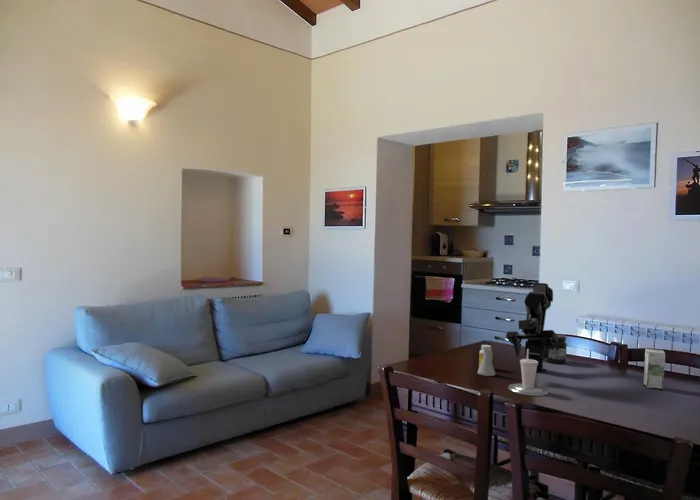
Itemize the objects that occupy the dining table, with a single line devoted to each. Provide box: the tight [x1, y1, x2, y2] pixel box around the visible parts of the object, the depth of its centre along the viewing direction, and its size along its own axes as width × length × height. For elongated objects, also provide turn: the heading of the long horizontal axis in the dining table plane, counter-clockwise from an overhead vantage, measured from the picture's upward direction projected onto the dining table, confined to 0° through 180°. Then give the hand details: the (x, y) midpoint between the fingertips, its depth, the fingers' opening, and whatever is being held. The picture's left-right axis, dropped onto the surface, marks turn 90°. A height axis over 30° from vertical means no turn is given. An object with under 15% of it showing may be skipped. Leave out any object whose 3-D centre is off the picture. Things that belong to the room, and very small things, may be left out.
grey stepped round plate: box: [507, 382, 549, 397], centre depth 188 cm, size 14×14×1 cm
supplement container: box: [543, 333, 568, 365], centre depth 236 cm, size 10×10×12 cm
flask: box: [476, 349, 496, 377], centre depth 208 cm, size 7×7×10 cm
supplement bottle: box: [478, 344, 493, 368], centre depth 218 cm, size 5×5×10 cm
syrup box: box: [643, 348, 666, 389], centre depth 198 cm, size 6×6×14 cm
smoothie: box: [519, 349, 538, 389], centre depth 188 cm, size 6×6×14 cm
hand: (529, 357), depth 196 cm, fingers open, 9 cm apart
